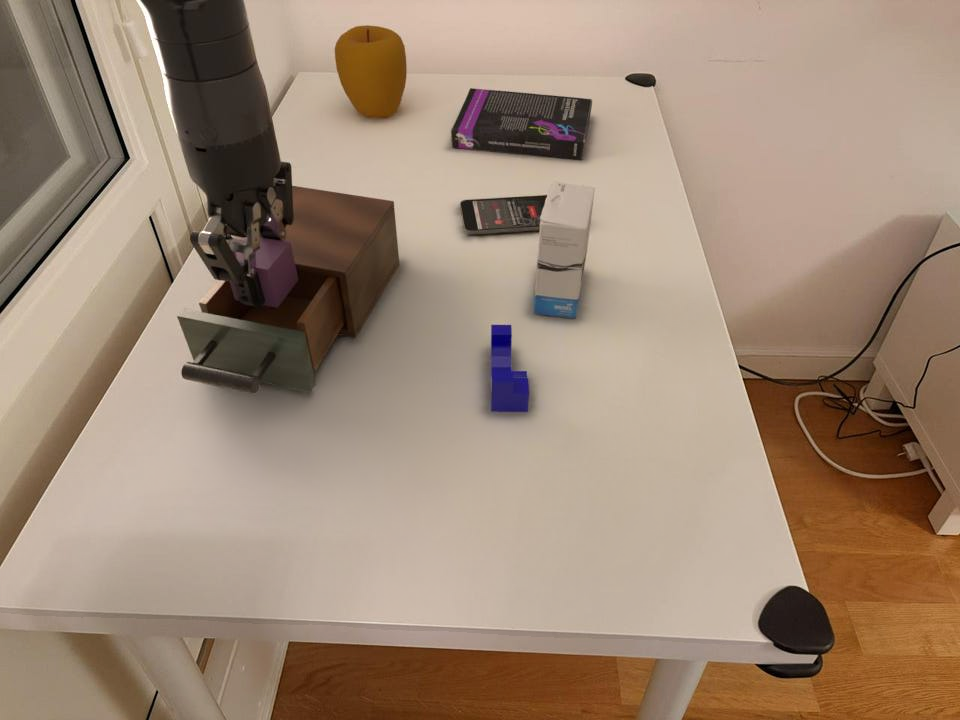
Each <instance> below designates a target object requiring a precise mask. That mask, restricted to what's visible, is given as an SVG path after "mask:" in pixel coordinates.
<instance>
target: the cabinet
mask: <svg viewBox="0 0 960 720" xmlns="http://www.w3.org/2000/svg"><path fill="white" fill-rule="evenodd" d="M292 192H293V215H294V219H293V223H292V224H291V225H286V227H285V229H286V233H287V234H286V238H285V240H284V241H285V242H290V243H291V248H292V252H293V257H294V262H295V266H296V270H300V271H305V272H311V273H316V274H322V275H328V276H333V277H339V279H340V285H341V291H342V297H343V303H344V310H345V316H346V322H345V324H344V325H343V327H342V329H341V330H340V332H339V333H338V336H344V337H350V338H354V339H356V338H357V336H358V335H359V333H360V332H361V329H362V328H363V326H364V324H366V322H367V319H368V318H369V316H370V314H371V313H372V311H373V309H374V308H375V306H376V304H377V303H378V301H379V299H381V296H382V294H383V293H384V291H385V289H386V287H388V284H389V283H390V281H391V280H392V277H394V274H395V273H396V271H397V270H398V268H399V266H400V255H399V254H400V253H399V243H398V233H397V232H398V231H397V221H396V211H395V201H394V200H388V199H384V198H383V199H382V198H375V197H371V196H370V197H369V196H363V195H356V194H350V193H343V192H338V191H337V192H336V191H331V190H323V189H318V188H310V187H303V186H298V185H297V186H296V185H292ZM276 201H277V203H278V205H279V207H280V209H281V211H283V204H282V201H281V200H277V199H276ZM232 237H233V238H234V239H239V240H244V239H245V238H243V237H237V236H232Z"/></svg>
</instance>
